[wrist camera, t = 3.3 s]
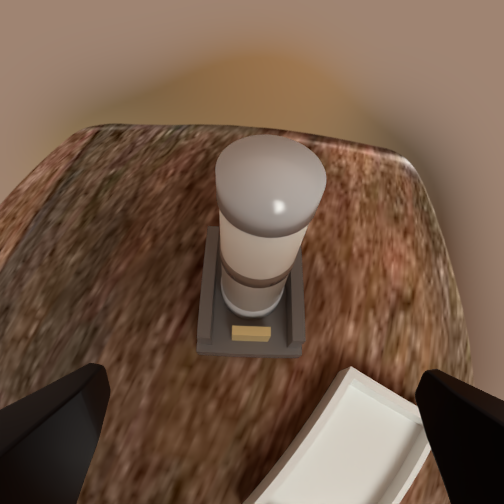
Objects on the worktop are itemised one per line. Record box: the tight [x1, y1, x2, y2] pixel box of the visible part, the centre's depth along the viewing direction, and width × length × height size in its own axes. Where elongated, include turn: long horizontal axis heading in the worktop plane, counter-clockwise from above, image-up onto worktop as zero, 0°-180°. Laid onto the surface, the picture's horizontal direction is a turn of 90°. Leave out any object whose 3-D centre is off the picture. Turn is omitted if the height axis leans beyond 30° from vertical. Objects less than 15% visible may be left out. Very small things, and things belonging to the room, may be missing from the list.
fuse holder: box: [196, 226, 305, 358], centre depth 21 cm, size 9×7×3 cm
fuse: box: [215, 135, 326, 320], centre depth 16 cm, size 4×4×12 cm
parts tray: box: [243, 366, 431, 504], centre depth 16 cm, size 12×9×2 cm
